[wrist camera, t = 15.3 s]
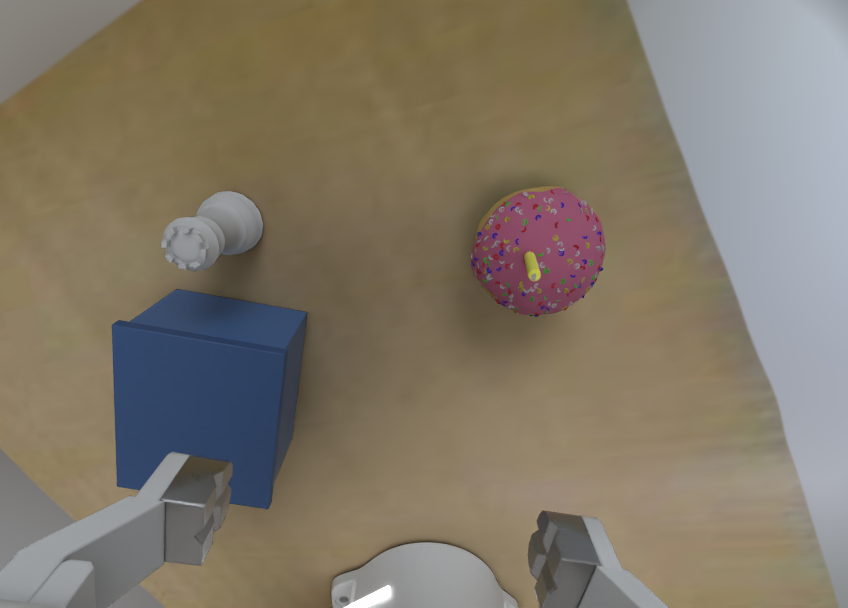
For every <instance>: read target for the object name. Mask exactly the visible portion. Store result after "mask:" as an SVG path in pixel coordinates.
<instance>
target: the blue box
mask: <svg viewBox="0 0 848 608" xmlns="http://www.w3.org/2000/svg"><path fill="white" fill-rule="evenodd" d="M306 319H307V312H303V311H297V310H292V309H286V308H280V307H275V306H269V305H264V304H258V303H253V302H247V301H241V300H236V299H230V298H225V297H219V296H213V295H208V294H202V293H197V292H191V291H186V290H180V289H176V290H175V291H173V292H172V293H170V294H169V295H167V296H166V297H164V298H163V299H161V300H160V301H159V302H157V303H156V304H154V305H153V306H151V307H150V308H148V309H147V310H145V311H144V312H143V313H141V314H140V315H138V316H137V317H135V318H134V319H132V320H131V321H130V322H127V321H122V320H118V321H117V322H115V323H114V324H112V343H113V374H114V405H115V436H116V466H117V487H123V488H129V489H136V490H141V488H142V487H143V486H144V484H145V483H146V482H147V480H148V479H149V478H150V477H151V475H152V474H153V473H154V471H155V470H156V469H157V467H158V466H159V465H160V464H161V462H162V461H163V460H164V458H165V457H166V456H167V455H168V454H169V453H171V452H177V453H182V454H188V455H196V456H201V457H207V458H212V459H218V460H224V461H229V462H231V463H232V464H233V470H232V476H231V478H230V480H229V482H228V485H229V486H230V488H231V497H230V502H229V503H230V504H237V505H243V506H250V507H257V508H263V509H269V507H270V505H271V502H272V494H273V485H274V482H275V479H276V477H277V474H278V472H279V469H280V467H281V464H282V462H283V460H284V457H285V455H286V452H287V450H288V447H289V445H290V442H291V440H292V435H293V427H294V419H295V410H296V402H297V394H298V386H299V377H300V369H301V361H302V352H303V344H304V336H305V328H306Z"/></svg>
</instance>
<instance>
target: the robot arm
mask: <svg viewBox="0 0 848 608" xmlns="http://www.w3.org/2000/svg"><path fill="white" fill-rule="evenodd" d="M232 470H233V464H232V463H231V462H229V461H224V460H218V459H212V458H207V457H201V456H196V455H188V454H182V453H177V452H171V453H169V454H168V455H167V456H166V457H165V458H164V460H163V461H162V462H161V464H160V465H159V466H158V467H157V469H156V470H155V471H154V473H153V474H152V475H151V477H150V478H149V479H148V480H147V482H146V483H145V484H144V486H143V487H142V488H141V490H140V491H139V492H138V494H137V495H136V496H135V497H131V496H128V497H126V498H124V499H122V500H120V501H118V502H116V503H114V504H112V505H110V506H108V507H106V508H104V509H102V510H99V511H97V512H95V513H93V514H91V515H89V516H87V517H85V518H83V519H81V520H79V521H77V522H75V523H73V524H71V525H69V526H67V527H65V528H63V529H61V530H59V531H57V532H55V533H53V534H50V535H49V536H46V537H45V538H42V539H40V540H38V541H36V542H34V543H32V544H30V545H28V546H26V547H24V548H22V549H20V550H19V551H18V552H17V553H16V554H15V555H14V556H13V557H12V558H11V559H10V560H9V562H8V563H7V564H6V565H5V566H4V567H3V568H2V569H1V570H0V608H107V607H108V606H110V605H111V604H112V603H114V602H115V601H116V600H117V599H119V598H120V597H121V596H123V595H124V594H125V593H127V592H128V591H129V590H131V589H132V588H133V587H134V586H136V585H137V584H138V583H140V582H141V581H142V580H144V579H145V578H146V577H148V576H149V575H150V574H151V573H153V572H154V571H155V570H157V569H158V568H159V567H161V566H162V565H163V564H164V562H171V563H180V564H189V565H198V566H201V565H202V563H203V561H204V559H205V557H206V555H207V553H208V551H209V549H210V547H211V545H212V543H213V534H214V531H216V530H218V529H219V528H220V527H221V525H222V523H223V521H224V519H225V516H226V513H227V510H228V507H229V502H230V497H231V488H230V486H229V485H228V482H229V480H230V478H231V476H232ZM537 525H538V528H539V530H538V531H536V532H535V533H533V534H532V536H531V539H530V542H529V548H528V564H529V568H530V573H531V574H532V575H533V576H534V577H535V579H536V580H537V583H536V585H535V588H534V590H535V594H536V598H537V602H538V606H539V608H669V607H668V606H667V605H666V604H665V603H663V602H662V601H661V600H660V599H659V598H658V597H657V596H656V595H655V594H654V593H652V592H651V591H650V590H649V589H648V588H647V587H646V586H645V585H644V584H643V583H641V582H640V581H639V580H638V579H637V578H636V577H635V576H634V575H633V574H632V573H630V572H629V571H628V570H623V569H622V567H621V565H620V563H619V560H618V558H617V556H616V554H615V552H614V550H613V547H612V545H611V543H610V541H609V539H608V536H607V534H606V532H605V530H604V528H603V525H602V523H601V521H600V520H599V519H598V518H594V517H587V516H580V515H579V516H577V515H571V514H564V513H557V512H550V511H542V512H541V513H540V514H539V517H538V519H537ZM331 596H332V607H333V608H519V605H518V603H517V601H516V600H515V599H514V598H513V597H511V596H510V595H509V594H507V593H506V592H505V591H503V590H502V589H501V587H500V586H499V584H498V582H497V580H496V578H495V576H494V574H493V573H492V571H491V570H490V568H489V567H488V566H487V565H486V564H485V563H484V562H483V561H482V560H480V559H479V558H478V557H476V556H475V555H473V554H471V553H470V552H468V551H465V550H463V549H461V548H458V547H455V546H451V545H447V544H441V543H431V542H422V543H412V544H406V545H402V546H398V547H395V548H392V549H390V550H387V551H385V552H383V553H381V554H380V555H378V556H376V557H375V558H374V559H372V560H371V561H370V562H368V563H367V564H366V565H365V566H363V567H361V568H360V569H358V570H354V571H351V572H347V573H344V574H342V575H339V576H337V577H336V578H334V580H333V581H332V589H331Z"/></svg>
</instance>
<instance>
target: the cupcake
mask: <svg viewBox="0 0 848 608" xmlns="http://www.w3.org/2000/svg"><path fill="white" fill-rule="evenodd" d="M584 202H585V203H584ZM604 255H605V239H604V234H603V226H602V222H601V219H600V217H599V215H598V214H597V212H596V211H595V210H594V209H592V208H591V207H590V206H589V205H587V204H586V201H582V200H580V199H579V198H577V197H576V196H575V195H573V194H572V193H570V192H569V191H567V190H565V189H563V188H561V187H558V186H548V187H535V188H530V189H525V190H521V191H517V192H514V193H512V194H510V195H508V196H506V197H504V198H502V199H501V200H499V201H498V202H497V203H495V204H494V205H493V206H492V207H491V209H490V210H489V211H488V212H487V214H486V215H485V216H484V217H483V218H482V219H481V221H480V223H479V225H478V228H477V231H476V235H475V240H474V245H473V248H472V251H471V265H472V270H473V273H474V275H475V276H476V278H477V279H478V280H479V281H480V282H481V284H482V286H483V287H484V288H485V290H486V291H487V292H488V293H489V294H490V295H491V296H492V298H493V299H494V300H495V301H496V302H497V303H498V304H501V305H503V306H505V307H507V308H508V309H511V310H513V311H514V312H515V313H516V312H517V313H519V314H522V315H529V316H533V315H534V316H535V317H537V316H539V315H542V314H550V313H556V312H559V311H561V310H566V309H567V308H568V307H569V306H570V305H572V304H573V303H575V302H576V301H578V300H579V299H580V298H581V297H582V298H584V295H585V294H586V293H587V292H588V291H589V289H590V287H591V288H592V287H593V284H594V282H596V280H597V276H598V274H599V272H600V271H602V270H603V268H601V266H602V263H603V259H604ZM536 315H537V316H536Z"/></svg>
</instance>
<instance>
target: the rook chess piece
mask: <svg viewBox="0 0 848 608" xmlns="http://www.w3.org/2000/svg"><path fill="white" fill-rule="evenodd" d="M262 229H263V222H262V218H261V214H260V212H259V210H258V209H257V207H256V206H255V205H254V203H253V202H252V201H251V200H249V199H248V198H246V197H245V196H244V195H242V194H239V193H235V192H231V191H226V192H219V193H216V194H214V195H213V196H211V197H209V198H208V199H206V200H205V201H203V202H202V204H201V206H200V207H199V209H198V211H197V213H196V217H184V218H177V219H176V220H174V221H173V222H171V223H170V224H169V225H168V226H167V228H166V230H165V231H164V237H163V239H162V245H161V248H165V250H166V253H167V255H165V258H166V259H167V260H168V261H169V263H171V262H172V261H173V262H174V263H175V264H177V265H178V268H180V269H184V270H191V271H200V270H205V269H207V268H208V267H210V266H212V265H213V264H214V262H215V261H216V259H217V257H218V256H220V254H225V255H235V254H241V253H243V252H245V251H247V250H249V249H251V248H252V247H254V246H255V245H256V244H257V242H258V241H259V239H260V238H261V236H262Z"/></svg>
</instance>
